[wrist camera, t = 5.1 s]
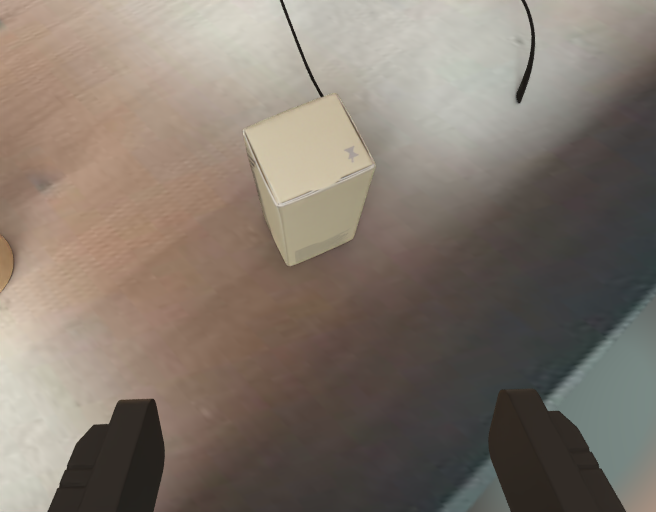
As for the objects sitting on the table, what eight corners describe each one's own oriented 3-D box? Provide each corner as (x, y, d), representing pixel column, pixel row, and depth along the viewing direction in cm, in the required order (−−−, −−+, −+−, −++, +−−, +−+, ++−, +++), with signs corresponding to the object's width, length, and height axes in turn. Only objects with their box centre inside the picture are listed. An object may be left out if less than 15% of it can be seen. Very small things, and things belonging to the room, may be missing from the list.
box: (327, 186, 38) (342, 84, 26) (354, 241, 37) (384, 164, 25) (257, 215, 37) (237, 125, 25) (283, 272, 36) (276, 209, 24)
